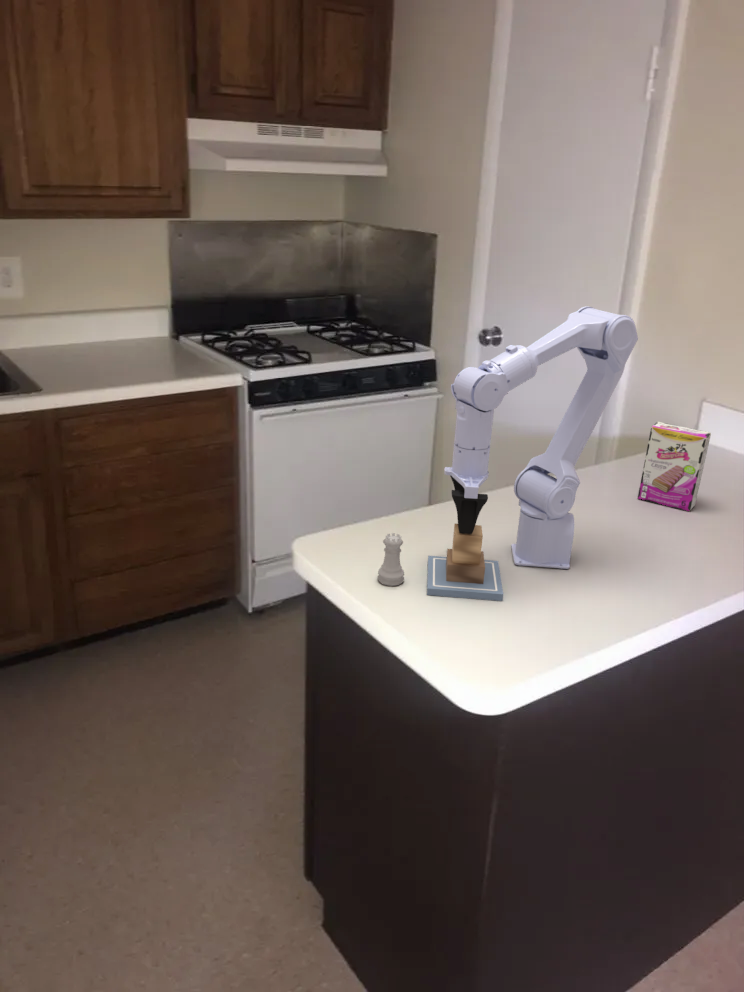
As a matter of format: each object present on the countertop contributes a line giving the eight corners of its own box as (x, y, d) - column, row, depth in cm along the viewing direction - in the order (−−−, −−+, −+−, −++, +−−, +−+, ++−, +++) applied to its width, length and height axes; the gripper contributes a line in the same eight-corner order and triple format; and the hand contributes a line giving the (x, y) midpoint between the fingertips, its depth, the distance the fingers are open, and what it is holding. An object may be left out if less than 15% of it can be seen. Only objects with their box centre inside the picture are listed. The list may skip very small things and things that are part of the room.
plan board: (497, 567, 142) (500, 545, 141) (502, 601, 131) (505, 577, 130) (427, 561, 143) (429, 539, 141) (426, 595, 132) (428, 571, 130)
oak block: (478, 553, 137) (481, 525, 136) (479, 564, 133) (482, 536, 132) (451, 550, 138) (454, 523, 136) (452, 562, 134) (455, 534, 132)
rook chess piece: (401, 588, 133) (405, 543, 130) (374, 585, 134) (377, 540, 131) (406, 576, 137) (409, 532, 135) (379, 572, 138) (382, 529, 135)
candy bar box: (636, 500, 175) (649, 425, 169) (642, 493, 179) (656, 420, 173) (690, 513, 170) (706, 437, 164) (696, 505, 174) (711, 431, 168)
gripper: (445, 429, 138) (439, 504, 143) (448, 457, 124) (440, 539, 129) (488, 431, 137) (480, 507, 142) (495, 460, 124) (486, 542, 129)
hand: (464, 523), depth 136 cm, fingers open, 7 cm apart
